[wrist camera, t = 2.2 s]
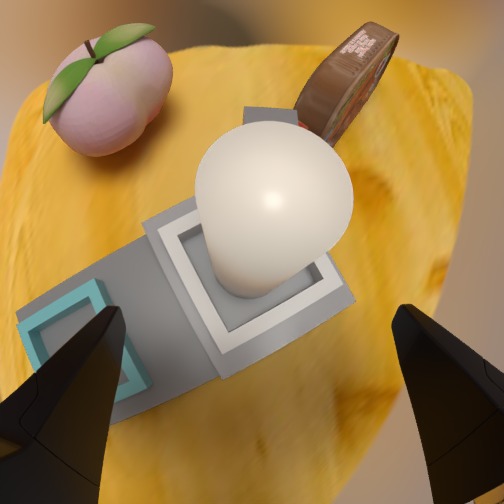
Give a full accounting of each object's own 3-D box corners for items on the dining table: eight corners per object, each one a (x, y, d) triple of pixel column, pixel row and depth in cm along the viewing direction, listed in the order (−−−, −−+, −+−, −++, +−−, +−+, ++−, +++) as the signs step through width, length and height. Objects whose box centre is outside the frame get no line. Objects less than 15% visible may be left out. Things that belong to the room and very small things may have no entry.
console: (79, 435, 16) (50, 455, 12) (22, 312, 18) (-14, 308, 14) (338, 304, 20) (367, 299, 16) (265, 180, 22) (274, 147, 17)
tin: (304, 185, 22) (343, 117, 14) (269, 162, 22) (290, 85, 14) (378, 85, 25) (413, 26, 17) (352, 68, 25) (381, 7, 17)
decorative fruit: (122, 80, 23) (94, -3, 13) (195, 105, 23) (186, 7, 13) (57, 160, 21) (-4, 88, 11) (128, 198, 21) (70, 116, 11)
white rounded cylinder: (285, 298, 17) (360, 266, 7) (211, 298, 17) (190, 265, 7) (282, 214, 18) (338, 105, 8) (214, 212, 18) (203, 95, 8)
